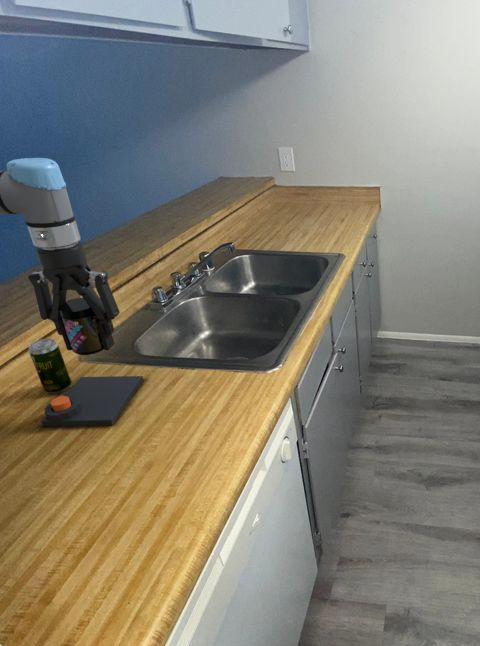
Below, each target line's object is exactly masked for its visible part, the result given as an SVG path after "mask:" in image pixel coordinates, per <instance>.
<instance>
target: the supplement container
mask: <svg viewBox="0 0 480 646" xmlns="http://www.w3.org/2000/svg"><path fill="white" fill-rule="evenodd" d="M58 310H59V313H60V316H61V319H62V321H63V324H64V327H65V330H66V333H67V336H68V339H69V342H70V345H71V348H72V350H71V351H72V352H73V353H74V354H76V355H79V356H90V355H91V356H92V355H95V354H97V353H100V352H102V351H105V349H104V346H103V343H102V340H101V336H100V333H99V330H98V327H97V322H98V321H99V319H98V317H97V316H96V315H95V313H94V312H93V311H92V309H91V307H90V306H89V305H88V304H87V302H86V301H85V300H84V298H83V297H82V296H81V297H76V298H72V299H68V300H66V302H65V303H63V304H62V305H61V306H60V307H58Z"/></svg>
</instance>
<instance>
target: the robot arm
mask: <svg viewBox="0 0 480 646" xmlns="http://www.w3.org/2000/svg"><path fill="white" fill-rule="evenodd" d="M62 174H63V173H62V171H61V169H60V166H59V164H58V163H57V162H56V161H55V160H53V159H51V158H46V157H25V158H24V157H23V158H16V159H12V160H10V161H8V162H7V163H6V170H0V215H22V217H23V219H24V221H25V225H26V228H27V230H28V233H29V236H30V239H31V242H32V245H33V246H34V247H36V248H35V249H34V252H35V254H36V257H37V259H38V263H39V265H40V267H41V268H42V270H39V269H38V270H35V271H33V272H32V273H31V274H29V275H28V276H27V279H28V280H29V282H30V284H31V285H32V287H33V291H34V294H35V298H36V303H37V305H38V306H37V307H38V311H39V315H40V318H41V319H42V320H44V321H46V320H49V321H51V322H52V323H53V324H54V326H55V329H56V332H57V334H58V335H59V336H62V339H63V342H64V344H65V348H66V350H67V351H73V350H72V348H71V345H70V342H69V339H68V336H67V333H66V330H65V327H64V324H63V321H62V319H61V316H60V313H59V310H58V307H60V306H61V305H62V304H63V303H65V302H66V301H67V292H68V291H75V292H76V293H77V294H78V295H79V296H81V298H82V297H83V298H84V300H85V301H86V302H87V304H88V305H89V306H90V307H91V309H92V311H93V312H94V313H95V315H96V316H97V317H98V319H99V321H98V322H97V327H98V330H99V333H100V336H101V340H102V343H103V346H104V351H109V350H110V349H111V348H112V347H113V346H114V345H115V341H114V337H113V333H114V332H115V327H114V324H113V321H112V320H115V318H117V317H118V316H119V315H120V309H119V307H118V303H117V301H116V299H115V297H114V295H113V291H112V289H111V287H110V284H109V282H108V281H109V280H108V277H109V276H108V275H109V274H108V272H107V271H106V270H101V271H99V272H98V271H96V270H92V269H91V267H90V266H89V265H88V260H87V259H88V258H87V254H86V252H85V251H86V250H85V248H84V244H83V242H81V239H82V237H81V234H80V230H79V228H78V224H77V220H76V218H75V215H74V212H73V209H72V205H71V201H70V197H69V194H68V190H67V183H66V182H65V180H64V176H63V175H62ZM90 279H92V282H91V281H90ZM48 281H49V282H50V283H51V284H52V286H51V287H52V288H51V291H50V287H49V283H48ZM92 283H93V284H94V285H93V284H92ZM94 286H95V289H96V291H95V289H94ZM51 294H52V295H51Z"/></svg>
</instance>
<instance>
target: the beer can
mask: <svg viewBox="0 0 480 646" xmlns="http://www.w3.org/2000/svg"><path fill="white" fill-rule="evenodd" d="M28 349H29V350H28V354H29V356H30V359H31V361H32V364H33V366H34V368H35V371H36V373H37V374H36V375H37V376H38V379H39V381H40V383H41V386H42V389H43V391H45V393H47V394H49V395H57V394H58V395H59V394H61V393H63V392H65V391H67V390H69V389H70V388H71V387H72V386H71V385H72V380H71V376H70V374H69V371H68V367H67V366H66V363H65V360H64V358H63V354H62V351H61V349H60V346H59V343H57V341H56V339H54V338H43V339H38V340H36V341H33V342H31V343H30V344H29V345H28Z"/></svg>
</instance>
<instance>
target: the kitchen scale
mask: <svg viewBox="0 0 480 646" xmlns="http://www.w3.org/2000/svg"><path fill="white" fill-rule="evenodd" d="M143 382H144V376H143V375H127V376H126V375H125V376H124V375H121V376H119V375H117V376H116V375H115V376H113V375H112V376H81V377H80V378H79V379H78V380H77V381H76V382H75V383H74V384H73V385H72V386H71V387H70V388H69V389H68V391H67V392H66V393H65V395H63V396H67V397H69V400H70V402H71V407H69V408H68V409H66V410H63V411H60V412H55V411H54V410H53V408H52V405H51V402H50V403H48V404H47V405H46V406H45V407H44V415H45V416H44V418H42V420H41V421H40V422H41V425H42V427H75V426H77V427H79V426H113V425H115V422H116V421H117V420H118V418H119V417H120V415H122V412H123V411H124V409H126V407H127V405H128V404H129V403H130V401H131V399H132V398H133V397H134V395H135V394H136V392H137V391H138V390H139V388H140V386H141V385H142V384H143Z"/></svg>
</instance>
